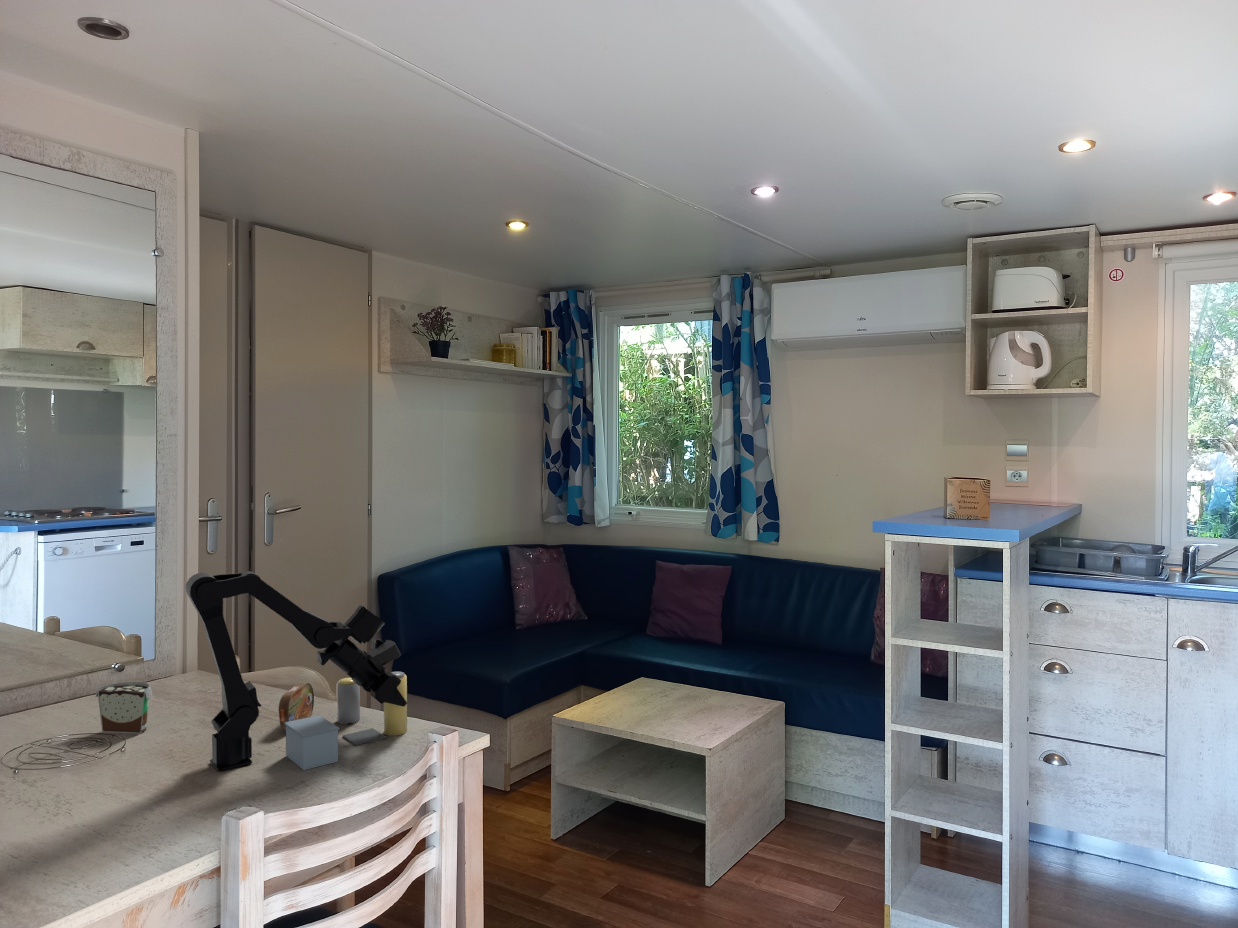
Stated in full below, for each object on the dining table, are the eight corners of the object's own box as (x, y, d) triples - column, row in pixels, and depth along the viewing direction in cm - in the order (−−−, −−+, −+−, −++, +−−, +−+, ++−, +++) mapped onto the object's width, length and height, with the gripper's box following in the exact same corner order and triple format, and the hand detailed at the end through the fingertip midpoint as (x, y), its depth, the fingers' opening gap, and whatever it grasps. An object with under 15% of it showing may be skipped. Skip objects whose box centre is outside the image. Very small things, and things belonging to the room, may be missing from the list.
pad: (355, 745, 183) (355, 743, 183) (342, 736, 189) (342, 735, 189) (386, 738, 188) (386, 736, 188) (372, 729, 193) (372, 728, 193)
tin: (290, 734, 190) (289, 697, 190) (276, 734, 190) (275, 697, 190) (315, 713, 205) (315, 678, 205) (302, 713, 205) (302, 678, 205)
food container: (164, 724, 197) (164, 681, 197) (147, 733, 191) (146, 689, 190) (114, 722, 198) (114, 680, 198) (95, 731, 192) (95, 687, 192)
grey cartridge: (342, 725, 196) (342, 684, 196) (334, 720, 200) (333, 679, 200) (363, 721, 199) (363, 680, 199) (354, 715, 203) (354, 675, 203)
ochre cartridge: (390, 736, 189) (389, 678, 188) (380, 731, 193) (379, 673, 192) (410, 731, 192) (410, 674, 192) (400, 726, 196) (400, 669, 195)
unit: (303, 770, 170) (302, 735, 169) (284, 755, 178) (284, 722, 177) (339, 761, 174) (339, 727, 174) (319, 747, 182) (319, 714, 182)
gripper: (391, 639, 182) (440, 682, 188) (364, 623, 197) (411, 663, 204) (354, 681, 178) (406, 724, 184) (330, 661, 193) (378, 702, 200)
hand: (401, 701), depth 193 cm, fingers open, 5 cm apart
